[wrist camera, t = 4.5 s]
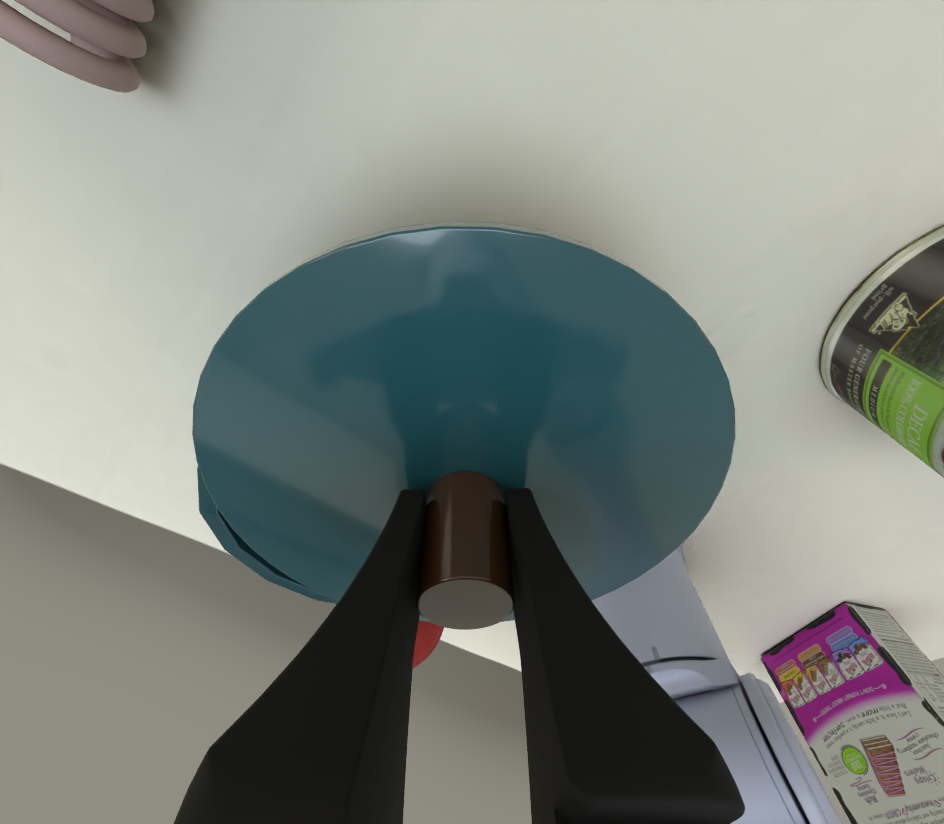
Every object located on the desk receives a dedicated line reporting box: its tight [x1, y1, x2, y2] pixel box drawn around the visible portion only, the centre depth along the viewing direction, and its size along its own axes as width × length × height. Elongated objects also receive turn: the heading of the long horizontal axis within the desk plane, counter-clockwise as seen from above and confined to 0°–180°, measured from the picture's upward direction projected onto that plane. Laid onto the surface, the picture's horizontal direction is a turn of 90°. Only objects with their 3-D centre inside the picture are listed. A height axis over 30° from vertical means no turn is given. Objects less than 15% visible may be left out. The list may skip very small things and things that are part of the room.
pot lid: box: [193, 222, 735, 629], centre depth 12 cm, size 16×16×4 cm
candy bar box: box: [761, 603, 944, 824], centre depth 32 cm, size 11×5×16 cm, turn 164°
